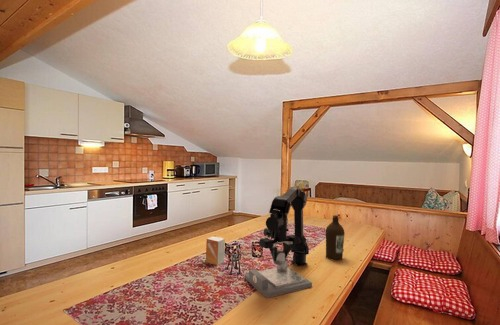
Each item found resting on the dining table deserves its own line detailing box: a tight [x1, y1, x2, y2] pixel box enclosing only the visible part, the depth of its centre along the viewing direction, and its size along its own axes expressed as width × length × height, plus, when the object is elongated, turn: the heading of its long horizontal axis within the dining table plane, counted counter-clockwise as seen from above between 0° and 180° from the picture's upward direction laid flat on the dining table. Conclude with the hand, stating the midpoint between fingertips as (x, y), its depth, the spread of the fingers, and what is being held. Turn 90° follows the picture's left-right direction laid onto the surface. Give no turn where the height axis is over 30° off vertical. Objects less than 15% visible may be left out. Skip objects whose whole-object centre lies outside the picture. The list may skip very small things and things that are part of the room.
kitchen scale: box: [244, 266, 313, 299], centre depth 125 cm, size 24×20×6 cm
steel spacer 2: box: [276, 258, 288, 272], centre depth 133 cm, size 5×5×5 cm
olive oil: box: [325, 214, 346, 261], centre depth 160 cm, size 11×11×25 cm
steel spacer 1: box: [273, 249, 285, 266], centre depth 121 cm, size 5×5×5 cm
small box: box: [205, 235, 226, 266], centre depth 147 cm, size 8×6×13 cm
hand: (279, 260), depth 121 cm, fingers closed on steel spacer 1, 5 cm apart
